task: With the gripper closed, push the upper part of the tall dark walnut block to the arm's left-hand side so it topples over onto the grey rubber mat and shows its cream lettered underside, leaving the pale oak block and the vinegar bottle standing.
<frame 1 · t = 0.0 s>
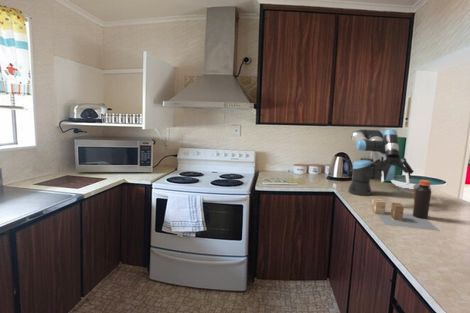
hand: (395, 182, 163), 15 cm above the table, tool tilted 35°, fingers open, 13 cm apart
oak block: (377, 212, 154), on the table, touching mat
mat: (404, 220, 144), on the table
vinegar: (419, 217, 149), resting on mat
walnut block: (396, 218, 145), resting on mat
disposable coffee cup: (419, 204, 174), on the table
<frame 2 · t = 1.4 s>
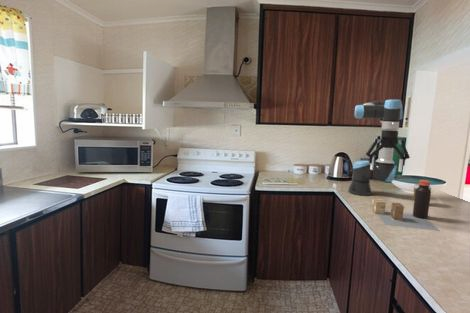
hand: (385, 170, 144), 26 cm above the table, tool pointing down, fingers open, 13 cm apart
nothing on the table moved.
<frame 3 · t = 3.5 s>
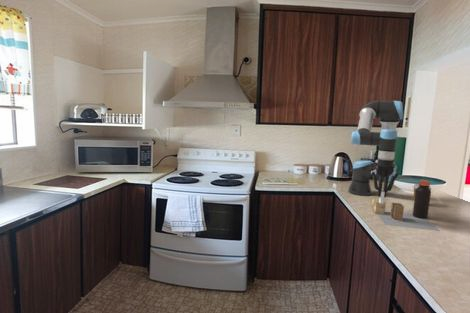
hand: (381, 202, 146), 8 cm above the table, tool pointing down, fingers closed
nothing on the table moved.
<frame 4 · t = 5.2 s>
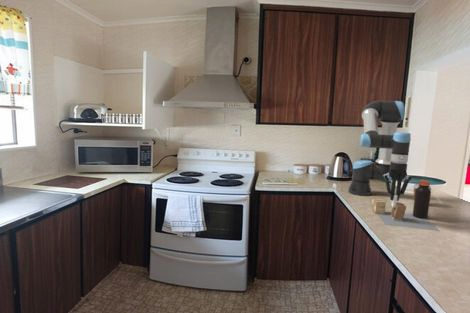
hand: (393, 206, 145), 7 cm above the table, tool pointing down, fingers closed
walnut block: (396, 218, 145), point 1 cm above the table, tilted 8°, touching gripper, mat
everything else where it was.
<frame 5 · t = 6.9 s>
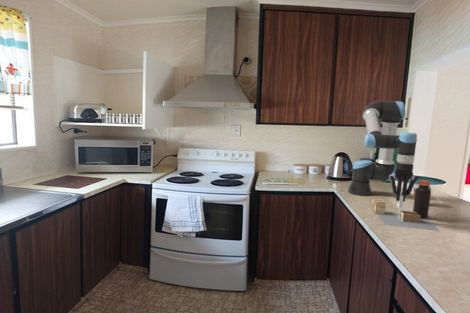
hand: (399, 207, 144), 7 cm above the table, tool pointing down, fingers closed
walnut block: (400, 215, 144), point 2 cm above the table, tilted 90°, touching mat
everything else where it was.
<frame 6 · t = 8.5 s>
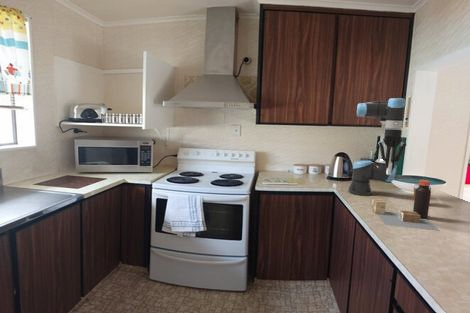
hand: (388, 174, 143), 24 cm above the table, tool pointing down, fingers closed
nothing on the table moved.
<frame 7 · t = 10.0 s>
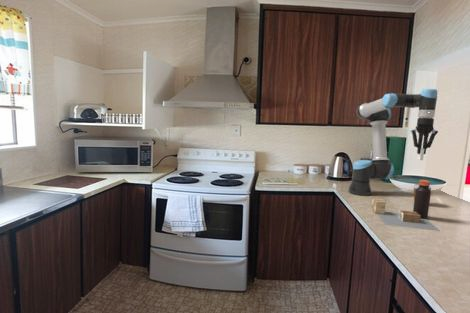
hand: (420, 159, 155), 30 cm above the table, tool pointing down, fingers closed
nothing on the table moved.
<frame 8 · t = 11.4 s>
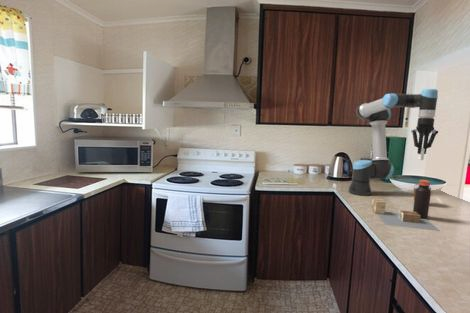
hand: (420, 159, 155), 30 cm above the table, tool pointing down, fingers closed
nothing on the table moved.
at the end: walnut block inside the target area (2.0 cm from its centre), point 2.4 cm above the table; walnut block tilted 90°; oak block moved 0.4 cm from its start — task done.
